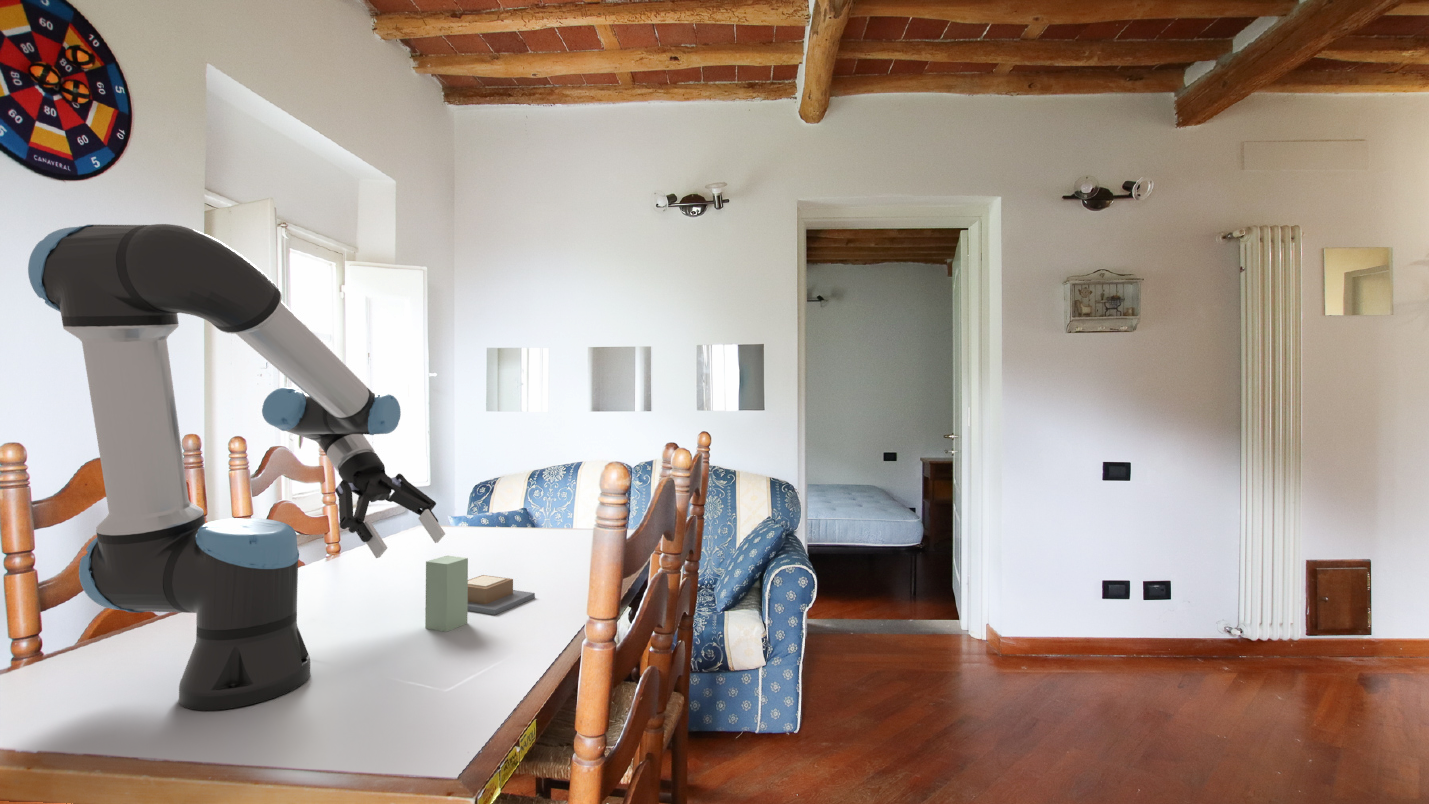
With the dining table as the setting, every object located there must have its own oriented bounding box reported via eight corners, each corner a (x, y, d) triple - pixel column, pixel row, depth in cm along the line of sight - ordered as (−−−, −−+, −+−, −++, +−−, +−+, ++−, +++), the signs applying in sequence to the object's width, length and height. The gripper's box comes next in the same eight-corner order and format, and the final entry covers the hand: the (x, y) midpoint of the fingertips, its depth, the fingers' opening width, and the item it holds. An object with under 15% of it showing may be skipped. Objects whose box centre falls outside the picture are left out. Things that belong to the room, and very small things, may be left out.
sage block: (446, 631, 113) (447, 564, 113) (425, 627, 115) (425, 561, 115) (467, 623, 117) (467, 558, 118) (446, 619, 119) (447, 555, 119)
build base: (494, 614, 122) (494, 593, 122) (431, 604, 128) (431, 583, 128) (534, 597, 133) (534, 577, 133) (475, 589, 139) (475, 569, 139)
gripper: (399, 469, 139) (451, 544, 133) (284, 482, 116) (342, 573, 110) (417, 446, 137) (471, 521, 131) (305, 454, 114) (364, 546, 108)
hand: (412, 545), depth 121 cm, fingers open, 13 cm apart
